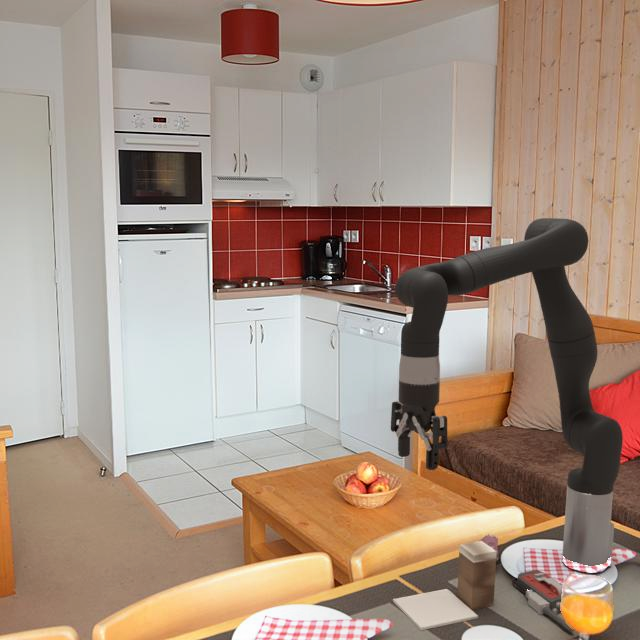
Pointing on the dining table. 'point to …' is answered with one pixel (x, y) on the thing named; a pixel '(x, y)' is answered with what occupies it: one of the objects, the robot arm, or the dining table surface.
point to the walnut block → (476, 575)
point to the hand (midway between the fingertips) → (417, 462)
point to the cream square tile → (434, 609)
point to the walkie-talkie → (541, 593)
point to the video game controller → (491, 542)
